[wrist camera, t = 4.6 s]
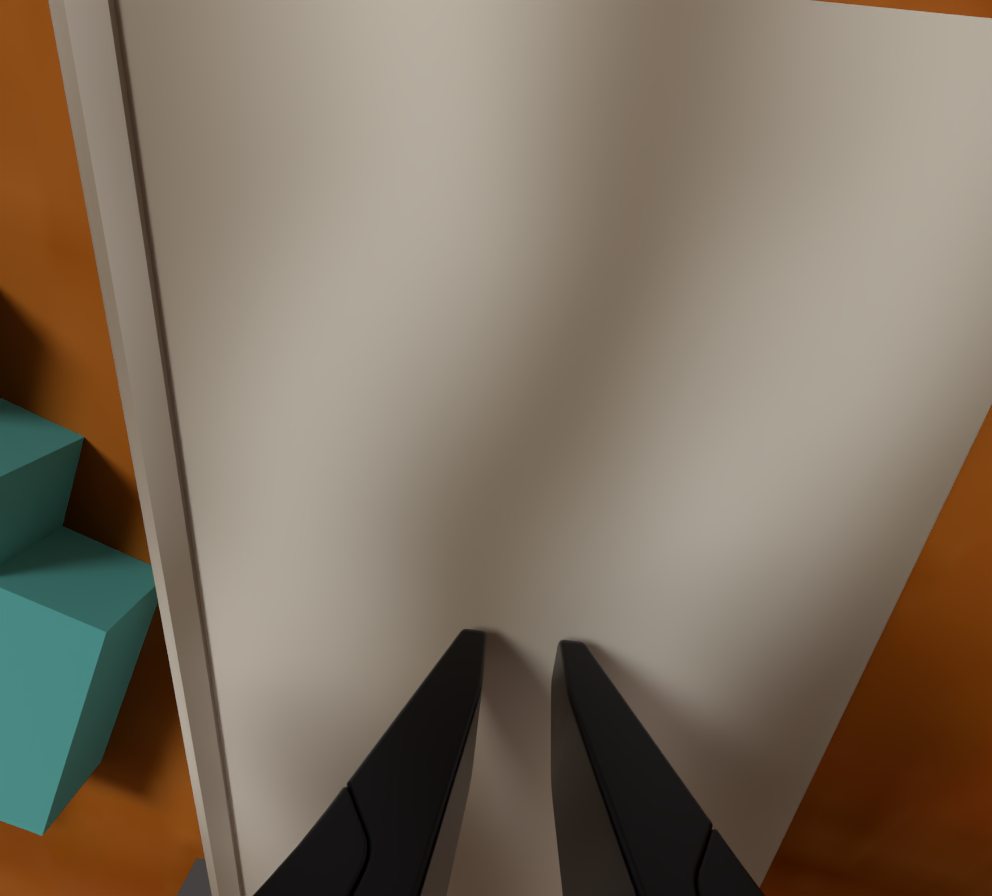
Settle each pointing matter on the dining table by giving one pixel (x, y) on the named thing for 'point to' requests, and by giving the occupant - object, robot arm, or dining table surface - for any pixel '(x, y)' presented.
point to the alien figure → (57, 625)
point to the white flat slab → (531, 375)
